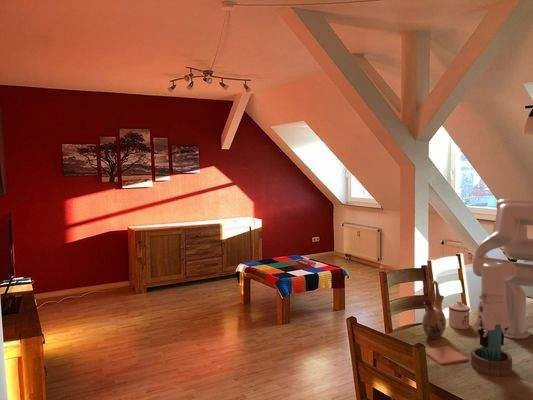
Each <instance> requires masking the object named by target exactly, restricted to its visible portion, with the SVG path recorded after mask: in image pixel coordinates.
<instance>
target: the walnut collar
mask: <svg viewBox="0 0 533 400" xmlns="http://www.w3.org/2000/svg"><path fill="white" fill-rule="evenodd" d="M470 364H471V368H473V369H474V370H475V371H477V372H478V373H481V374H484V375H487V376H490V377H491V376H492V377H498V378H499V377H500V378H501V377H506V376H508V377H509V376H510V375H511V374H512V372H513V358H512V356H511V354H510V353H508V352H506V351H504V350H502V351H501V361H500V362H498V361H489V360H486V359H483V358H482V346H480V347H474V348H473V349H471V350H470Z"/></svg>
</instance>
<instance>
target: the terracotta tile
mask: <svg viewBox="0 0 533 400" xmlns="http://www.w3.org/2000/svg"><path fill="white" fill-rule="evenodd" d="M425 349H426V353H427V355H426V356H427V357H429V358H430V359H432V360H434V362H436V363H438V364H439V365H440V366H441V365H442V366H443V365H448V364H455V363H462V362H468V361H469V358H468V357H467V356H465V355H464V354H462V353H460V352H458V351H457V350H455V349H454V348H452V347H451V346H450V345H446V346H440V347H439V346H438V347H431V348H425Z"/></svg>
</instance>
